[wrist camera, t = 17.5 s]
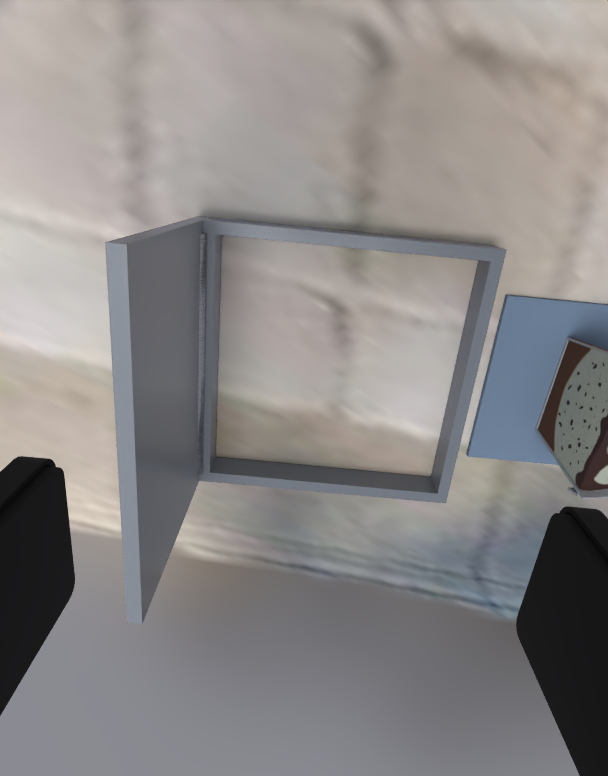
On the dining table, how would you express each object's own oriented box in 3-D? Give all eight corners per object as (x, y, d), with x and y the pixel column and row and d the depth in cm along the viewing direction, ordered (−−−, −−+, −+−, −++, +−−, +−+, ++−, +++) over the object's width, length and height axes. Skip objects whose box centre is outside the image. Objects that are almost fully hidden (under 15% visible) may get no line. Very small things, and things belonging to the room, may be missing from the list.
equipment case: (198, 216, 42) (105, 242, 23) (493, 245, 42) (631, 293, 24) (195, 463, 51) (126, 622, 33) (438, 486, 51) (507, 656, 33)
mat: (505, 294, 44) (507, 295, 43) (685, 312, 44) (689, 313, 44) (466, 453, 50) (467, 456, 49) (624, 468, 50) (627, 471, 50)
